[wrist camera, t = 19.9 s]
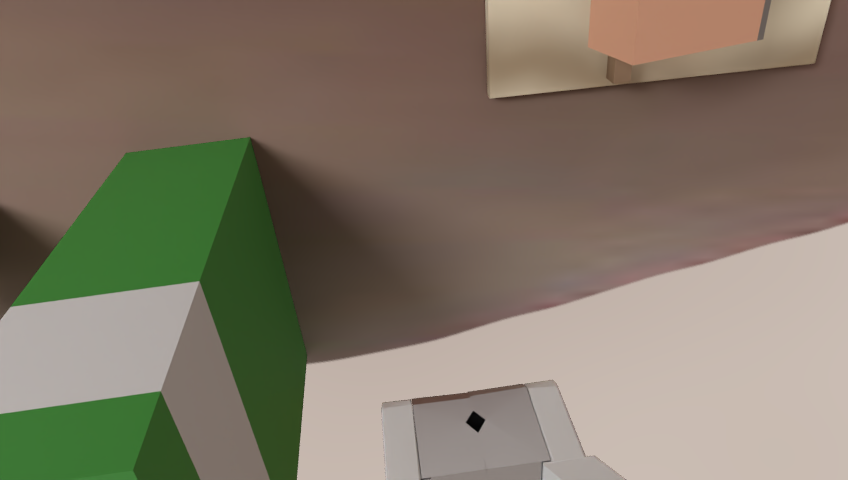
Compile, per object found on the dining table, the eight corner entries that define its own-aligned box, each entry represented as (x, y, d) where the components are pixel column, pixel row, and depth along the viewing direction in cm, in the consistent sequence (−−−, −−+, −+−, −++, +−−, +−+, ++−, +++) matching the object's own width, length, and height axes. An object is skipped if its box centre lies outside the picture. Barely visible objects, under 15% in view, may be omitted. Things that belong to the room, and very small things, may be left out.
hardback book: (307, 355, 47) (274, 738, 26) (208, 369, 46) (99, 767, 26) (250, 137, 37) (132, 470, 17) (126, 153, 37) (-143, 511, 17)
